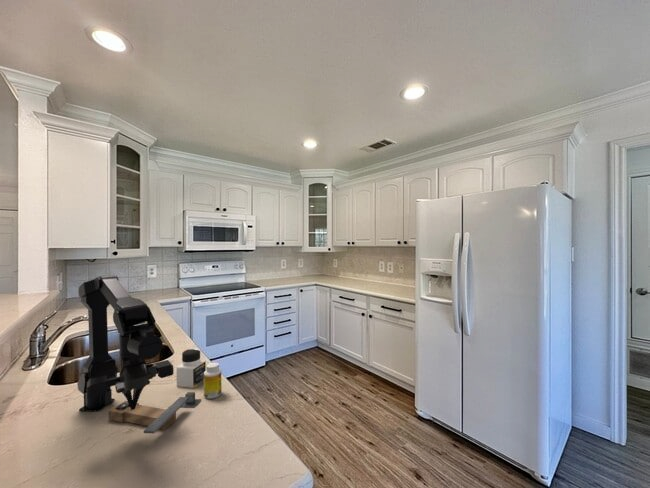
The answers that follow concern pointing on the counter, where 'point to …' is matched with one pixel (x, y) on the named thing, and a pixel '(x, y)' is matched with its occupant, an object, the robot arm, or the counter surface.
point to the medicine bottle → (191, 369)
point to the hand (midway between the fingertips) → (132, 409)
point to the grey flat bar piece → (173, 411)
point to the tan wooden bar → (139, 415)
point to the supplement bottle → (212, 381)
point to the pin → (123, 406)
